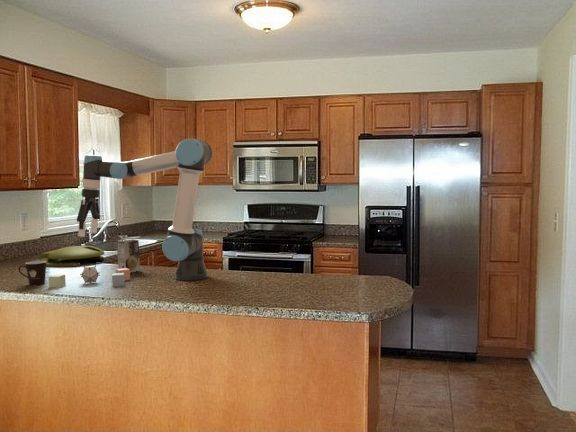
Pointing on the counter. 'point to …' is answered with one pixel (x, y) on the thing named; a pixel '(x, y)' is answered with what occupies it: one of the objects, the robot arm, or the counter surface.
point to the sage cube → (57, 281)
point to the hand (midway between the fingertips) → (87, 234)
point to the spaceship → (71, 255)
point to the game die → (90, 274)
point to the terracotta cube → (126, 273)
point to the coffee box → (128, 255)
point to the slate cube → (118, 279)
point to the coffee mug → (35, 272)
